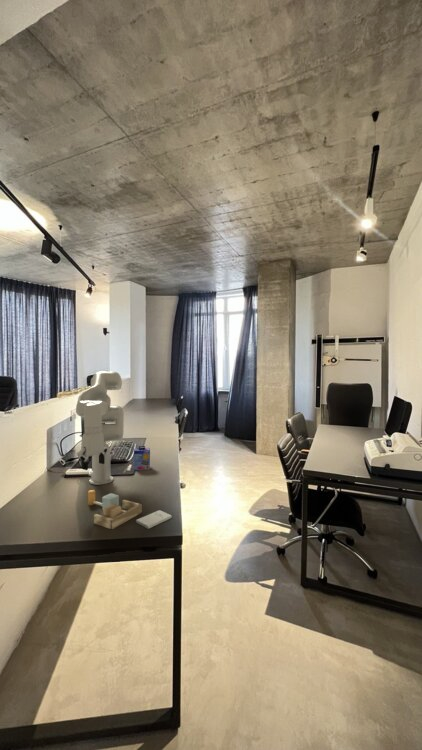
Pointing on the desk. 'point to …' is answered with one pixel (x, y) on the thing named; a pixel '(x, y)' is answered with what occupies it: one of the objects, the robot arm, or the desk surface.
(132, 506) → the shelf lanes
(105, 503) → the block
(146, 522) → the external hard drive
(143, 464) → the ink cartridge box
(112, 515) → the plain block
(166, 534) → the desk surface
